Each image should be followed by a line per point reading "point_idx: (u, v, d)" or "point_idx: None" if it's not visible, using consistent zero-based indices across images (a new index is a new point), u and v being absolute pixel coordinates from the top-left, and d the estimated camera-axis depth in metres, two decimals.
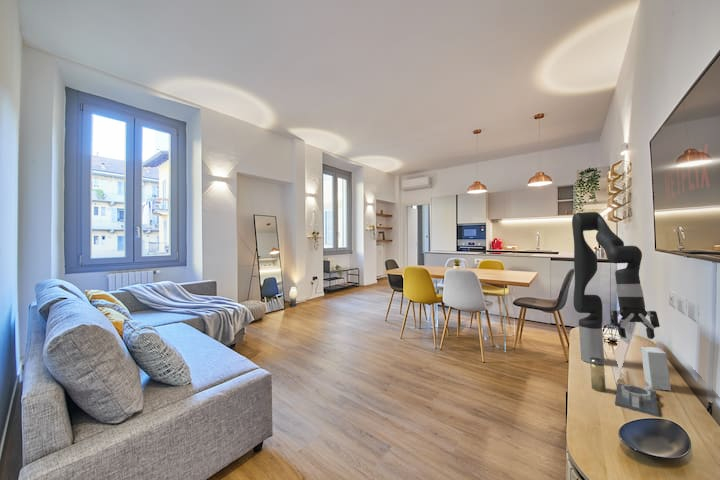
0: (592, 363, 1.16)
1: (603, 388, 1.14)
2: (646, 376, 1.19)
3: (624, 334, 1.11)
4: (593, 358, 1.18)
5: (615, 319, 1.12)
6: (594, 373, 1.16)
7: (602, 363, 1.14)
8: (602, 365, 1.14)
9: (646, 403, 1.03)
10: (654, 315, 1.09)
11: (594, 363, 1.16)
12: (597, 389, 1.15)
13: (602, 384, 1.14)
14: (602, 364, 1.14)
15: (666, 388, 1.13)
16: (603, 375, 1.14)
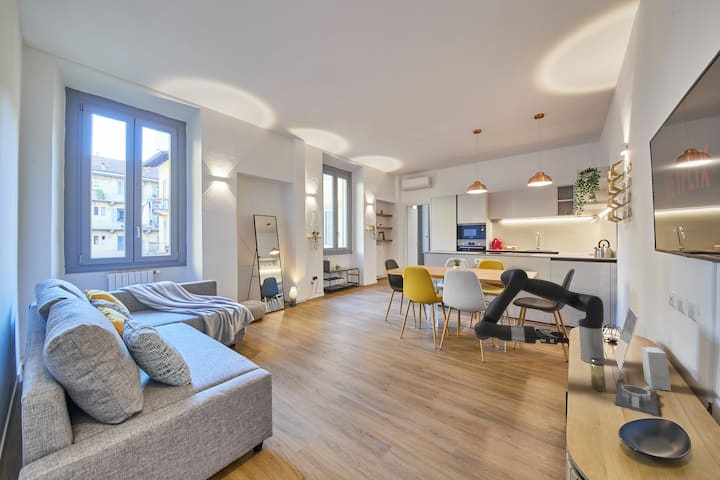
0: (592, 363, 1.16)
1: (603, 388, 1.14)
2: (646, 376, 1.19)
3: None
4: (593, 358, 1.18)
5: None
6: (594, 373, 1.16)
7: (602, 363, 1.14)
8: (602, 365, 1.14)
9: (646, 403, 1.03)
10: None
11: (594, 363, 1.16)
12: (597, 389, 1.15)
13: (602, 384, 1.14)
14: (602, 364, 1.14)
15: (666, 388, 1.13)
16: (603, 375, 1.14)
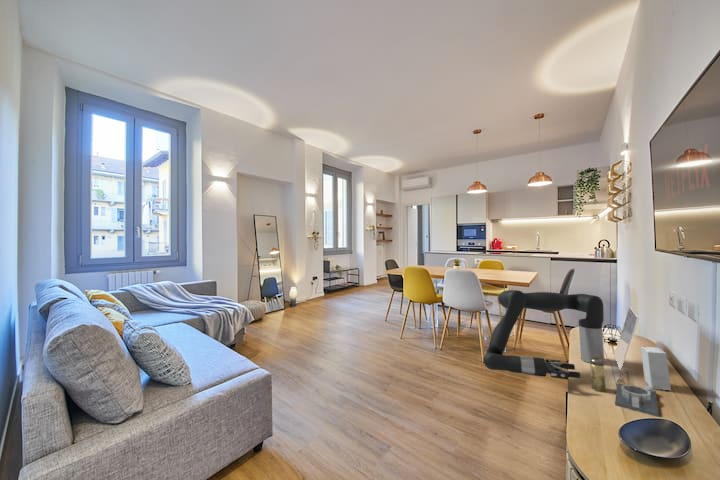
0: (592, 363, 1.16)
1: (603, 388, 1.14)
2: (646, 376, 1.19)
3: None
4: (593, 358, 1.18)
5: None
6: (594, 373, 1.16)
7: (602, 363, 1.15)
8: (602, 365, 1.15)
9: (646, 403, 1.03)
10: None
11: (594, 363, 1.16)
12: (597, 389, 1.15)
13: (602, 384, 1.14)
14: (602, 364, 1.15)
15: (666, 388, 1.13)
16: (603, 375, 1.15)
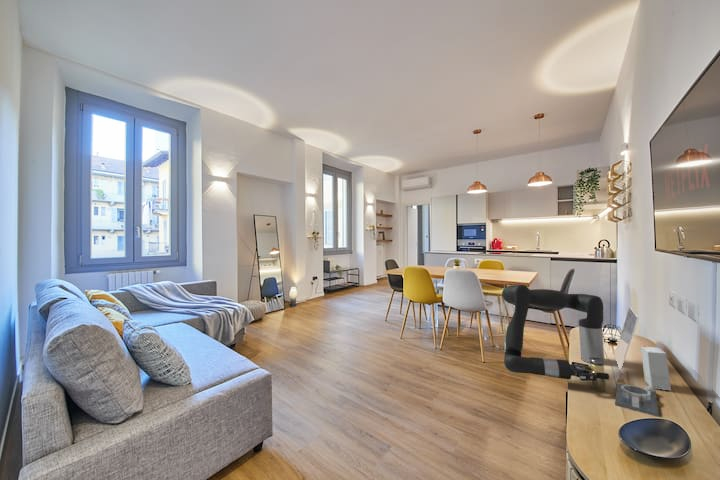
0: (592, 363, 1.16)
1: (603, 388, 1.14)
2: (646, 376, 1.19)
3: None
4: (593, 358, 1.18)
5: None
6: None
7: (602, 363, 1.14)
8: (602, 365, 1.15)
9: (646, 403, 1.03)
10: None
11: (594, 363, 1.16)
12: (597, 389, 1.15)
13: (602, 384, 1.14)
14: (602, 364, 1.14)
15: (666, 388, 1.13)
16: None
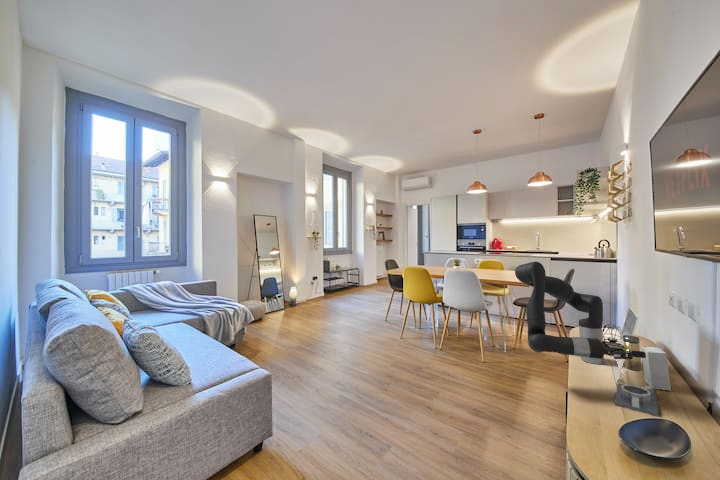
0: (626, 341, 1.08)
1: (639, 367, 1.06)
2: (646, 376, 1.19)
3: None
4: (626, 335, 1.10)
5: None
6: None
7: (637, 340, 1.07)
8: (637, 343, 1.07)
9: (646, 403, 1.03)
10: None
11: (628, 341, 1.08)
12: (632, 368, 1.07)
13: (637, 363, 1.06)
14: (637, 341, 1.07)
15: (666, 388, 1.13)
16: None
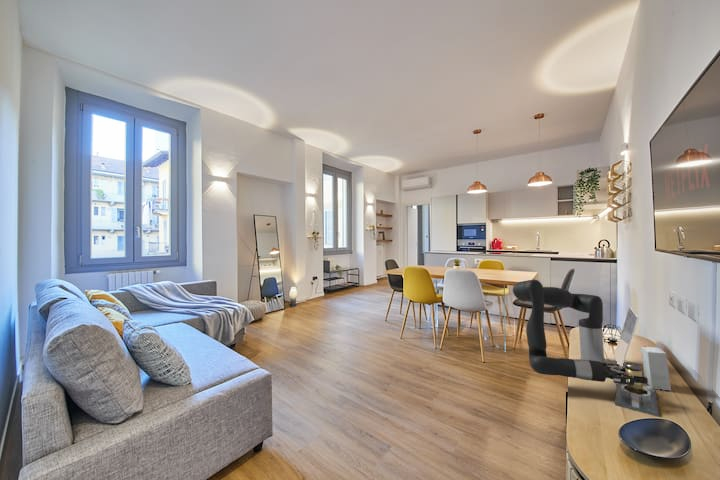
0: (628, 368, 1.08)
1: None
2: (646, 376, 1.19)
3: None
4: (628, 362, 1.10)
5: None
6: None
7: (639, 368, 1.06)
8: (639, 370, 1.06)
9: (646, 403, 1.03)
10: None
11: (630, 368, 1.07)
12: None
13: (640, 391, 1.06)
14: (639, 369, 1.06)
15: (666, 388, 1.13)
16: None
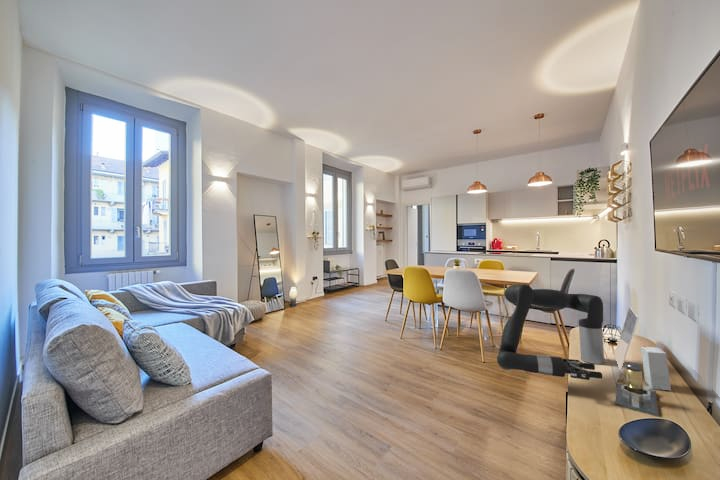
0: (628, 368, 1.08)
1: None
2: (646, 376, 1.19)
3: None
4: (629, 363, 1.10)
5: None
6: (631, 379, 1.07)
7: (640, 368, 1.06)
8: (640, 371, 1.06)
9: (646, 403, 1.03)
10: None
11: (631, 368, 1.07)
12: None
13: (640, 391, 1.06)
14: (640, 370, 1.06)
15: (666, 388, 1.13)
16: (641, 381, 1.06)
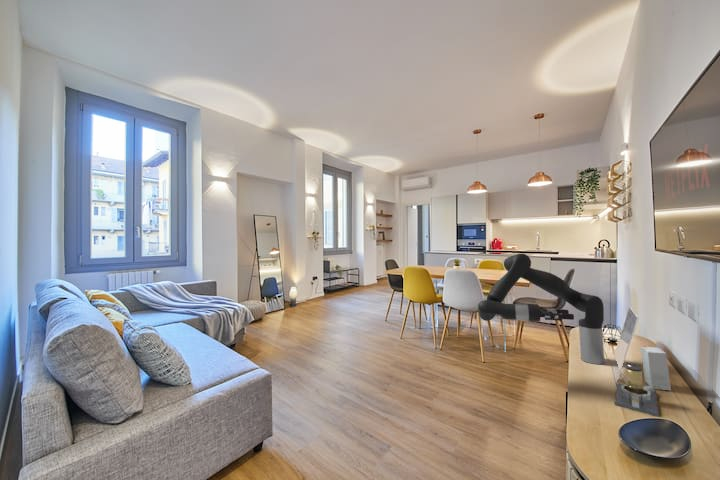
0: (629, 368, 1.08)
1: None
2: (646, 376, 1.19)
3: None
4: (629, 363, 1.10)
5: None
6: (631, 379, 1.07)
7: (640, 368, 1.06)
8: (640, 371, 1.06)
9: (646, 403, 1.03)
10: None
11: (631, 368, 1.07)
12: None
13: (640, 391, 1.06)
14: (640, 370, 1.06)
15: (666, 388, 1.13)
16: (641, 381, 1.06)
